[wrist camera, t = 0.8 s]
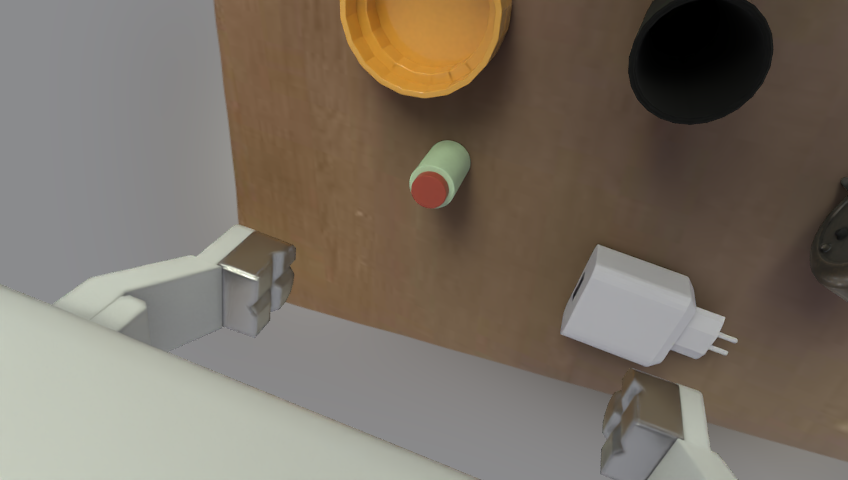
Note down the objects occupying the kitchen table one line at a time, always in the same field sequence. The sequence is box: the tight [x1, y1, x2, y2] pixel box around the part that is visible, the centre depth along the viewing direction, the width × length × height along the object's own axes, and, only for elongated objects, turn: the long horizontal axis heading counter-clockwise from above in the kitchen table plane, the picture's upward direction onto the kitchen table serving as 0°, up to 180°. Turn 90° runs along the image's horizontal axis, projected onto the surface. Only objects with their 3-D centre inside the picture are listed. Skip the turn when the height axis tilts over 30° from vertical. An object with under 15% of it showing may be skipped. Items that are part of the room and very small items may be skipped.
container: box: [409, 140, 470, 208], centre depth 52 cm, size 4×4×7 cm
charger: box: [560, 244, 738, 367], centre depth 54 cm, size 5×9×15 cm
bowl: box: [340, 0, 512, 98], centre depth 46 cm, size 13×13×5 cm
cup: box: [628, 0, 773, 125], centre depth 38 cm, size 8×8×12 cm
